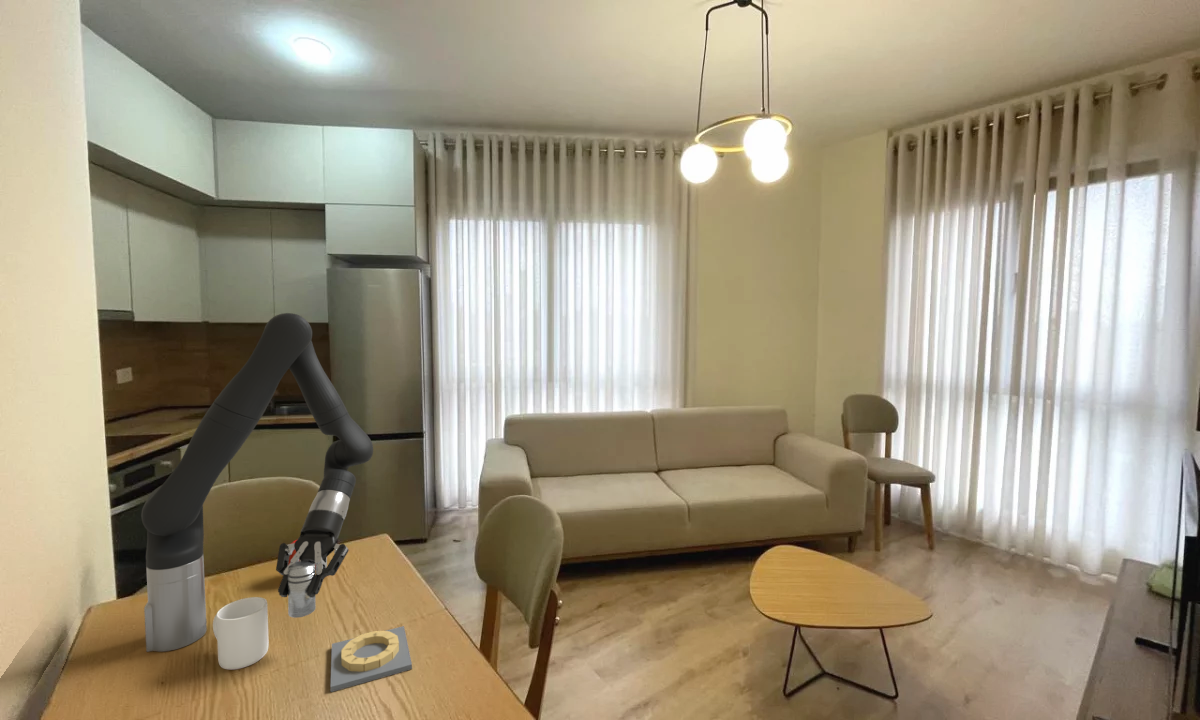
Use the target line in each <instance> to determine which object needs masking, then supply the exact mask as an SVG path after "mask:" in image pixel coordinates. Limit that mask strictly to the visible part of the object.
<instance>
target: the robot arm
mask: <svg viewBox="0 0 1200 720" xmlns="http://www.w3.org/2000/svg"><path fill="white" fill-rule="evenodd" d="M264 326H265V327H264V329H263V331H262V334H261V336H260V338H259V340H258V342H257V344H256V346H255V348H254V350H253V351H252V354H251V355H250V356H249V358H248V360H247V361H246V363H245V364H244V365H243V366H242V367H241V369H240V370H239V371H238V372H237V373H236V374H235V375H234V376H233V378H232V379H231V380H229V382H228V383H227V384H226V386H225V387H224V388H223V389H222V390H221V392H220V393H219V394H218V395H217V396H216V398H215V399H214V400H213V403H212V404H211V405H210V407H209V408H208V410H207V411H206V412H205V415H203V417H202V419H201V420H200V422H199V424H198V425H197V428H196V429H195V432H194V433H193V435H192V437H191V439H190V441H189V443H188V445H187V447H186V450H185V452H184V454H183V456H182V458H181V460H180V461H179V463H178V464H177V466H176V467H175V469H174V470H173V471H172V472H171V474H170V475H169V476H168V478H166V480H165V481H164V482H163V484H161V485H160V486H158V487H157V488H155V489H153V491H152V492H151V493H150V494H149V496H148V497H147V499H146V501H145V503H144V505H143V506H142V509H141V515H140V517H141V521H142V522H141V523H142V524H143V526H144V528H145V529H146V531H147V532H146V535H147V536H146V537H147V538H146V540H147V541H146V542H147V543H146V549H145V566H146V567H145V568H146V582H147V583H146V584H147V585H146V586H147V587H146V588H147V602H146V604H145V606H144V608H143V609H144V611H143V612H144V630H145V632H144V633H145V649H146V650H145V651H146V652H148V653H149V652H153V651H154V652H169V651H174V650H178V649H181V648H184V647H186V646H187V647H188V646H189V645H191V644H193V643H195V642H196V641H199V640H200V639H201V638H202V637H204V635H205V634H206V633H207V630H208V629H207V608H206V607H207V606H206V589H205V588H206V587H205V586H206V585H205V582H206V581H205V564H204V563H205V562H204V561H205V559H204V539H205V538H204V535H205V533H204V532H205V530H204V503H205V501H206V499H207V497H208V495H209V494H210V491H211V490H212V488H213V486H214V484H215V482H216V481H217V479H218V477H219V476H220V474H221V473H222V472H223V471H224V469H225V468H226V467H227V466H228V464H229V463H230V462H231V461H232V460H233V458H234V457H235V456H236V454H237V453H238V451H239V450H240V449H241V448H242V446H243V445H244V443H245V442H246V440H247V439H248V438H249V436H250V435H251V433H252V432H253V431H254V429H255V428H256V426H257V425H258V423H259V421H260V420H261V418H262V417H263V415H264V414H265V412H266V409H267V407H268V406H269V404H270V402H271V400H272V398H273V397H274V394H275V393H276V390H277V388H278V386H279V383H280V382H281V380H282V379H283V377H284V375H285V374H286V373H287V371H288V370H289V371H290V372H291V374H292V376H293V377H294V380H295V382H296V383H297V385H298V388H299V389H300V391H301V395H302V397H303V399H304V401H305V403H306V405H307V407H308V409H309V412H310V413H311V415H312V417H313V419H314V421H315V423H316V425H317V426H318V428H319V431H320V432H321V433H322V434H324V435H326V436H335V437H337V438H338V439H337V440H336V441H333V442H332V443H331V444H330V445H329V447H328V448H327V451H326V452H325V458H324V468H323V478H322V481H321V483H320V486H319V488H318V490H317V493H316V496H315V497H314V499H313V501H312V502H311V505H310V507H309V510H308V513H307V515H306V517H305V520H304V523H303V525H302V527H301V529H300V534H299V536H298V538H297V539H298V540H297V539H296V540H297V541H296V542H295V543H293V544H291V543H289V544H287V543H285V542H283V543H281V544H280V545H279V548H278V554H277V560H276V566H275V567H276V568H275V571H276V572H278V574H280V575H281V576H282V578H281V581H280V584H279V586H278V589H277V592H278V595H279V596H280V597H281V598H288V567H289V566H290V565H292V564H294V563H296V562H300V561H314V562H315V564H316V570H315V573H316V576H314V577H313V579H312V582H311V584H310V587H309V590H308V593H307V595H308V596H309V597H315V598H316V596H317V595H319V593H320V592H321V591H320V590H321V588H322V585H323V582H324V580H325V578H326V577H329V576H335V575H336V573H337V572H338V570H339V568H340V567H341V565H342V563H343V561H344V560H345V558H346V556H347V555H348V552H349V551H350V550H349V548H348V547H347V545H345V544H344V543H341V544H339V543H338V541H337V540H338V538H339V537H340V533H341V530H342V526H343V524H344V522H345V520H346V517H347V513H348V510H349V504H350V501H351V497H352V496H353V493H354V489H355V486H356V481H357V478H356V476H355V475H354V474H353V473H352V472H351V471H349V468H350V467H353V466H359V465H362V464H366V463H368V462H369V461H370V460H371V458H372V457H373V454H374V446H373V442H372V440H371V438H370V437H369V436H368V434H367V433H366V432H365V431H364V430H363V428H361V427H360V425H359V423H357V422H356V421H355V420H354V419H353V418H352V416H351V415H350V414H349V412H348V410H347V409H348V408H347V407H346V405H345V404H344V402H343V400H342V398H341V396H340V394H339V392H338V391H337V390H336V388H335V386H334V384H333V383H332V381H331V380H330V379H329V376H328V375H327V373H326V371H324V368H323V366H322V365H321V363H320V360H319V358H318V356H317V354H316V350H315V347H314V345H313V341H312V338H313V329H312V326H311V325H310V323H309V322H308V320H307V319H306V318H305V317H303V316H302V315H299V314H295V313H292V312H285V313H280V314H276V315H275V316H273V317H271V318H270V319H269V320H268V322H267V323H266V324H265V325H264ZM294 549H295V550H296V554H295V555H294V556H293V558H292V559H291V561H290V564H289V565H288V563H289V556H290V555H291V554H292V552H293V550H294ZM332 553H334V554H333V556H332V558H331V560H330V561H329V563H328V556H330V554H332ZM299 559H300V561H299Z"/></svg>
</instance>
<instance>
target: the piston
mask: <svg viewBox="0 0 1200 720" xmlns="http://www.w3.org/2000/svg"><path fill="white" fill-rule="evenodd" d="M314 576H316V568H315V562H314V561H300V562H296V563H294V564H292V565H290V566H289V567H288V596H287V602H288V603H287V604H288V605H287V607H288V610H287V611H288V616H289V617H291V618H293V619H294V618H295V619H296V618H302V617H307V616H308V615H310V614H312V613H313V612H315V610H316V596H315V597H309V596H308V595H307V593H308V590H309V587H310V584H311V582H312V579H313V577H314Z"/></svg>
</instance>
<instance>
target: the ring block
mask: <svg viewBox="0 0 1200 720" xmlns="http://www.w3.org/2000/svg"><path fill="white" fill-rule="evenodd" d="M411 658H412V657H411V654H410V649H409V643H408V639H407V634H406V630H405V625H403V626H399V627H395V628H391V629H390V628H389V629H386V630H377V631H376V630H374V631H370V632H366V633H365V632H364V633H362V634H359V635H358V636H356V637H354V638H350V639H346V640H342V641H338V642H333V643H331V658H330V659H331V661H330V665H331V666H330V693H333V692H336V691H339V690H343V689H347V688H351V687H353V686H358V685H362V684H365V683H368V682H369V683H370V682H372V681H375V680H380V679H382V678H383V679H384V678H386V677H389V676H393V675H396V674H400V673H403V672H407V671H411V670H412V669H413V664H412V659H411ZM410 669H411V670H410Z"/></svg>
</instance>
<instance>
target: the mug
mask: <svg viewBox="0 0 1200 720" xmlns="http://www.w3.org/2000/svg"><path fill="white" fill-rule="evenodd" d="M268 613H269V612H268V600H267V599H266V598H264V597H261V596H251V597H244V598H241V599H237V600H235V601H231V602H230V603H227V604H225V605H224V606H223V607H221V608H219V610H218V611H217V613H216V614H215V615H214V617H213V621H212V630H213V634H214V637H215V638H216V640H217V641H216V642H217V659H218V664H219V666H220V667H221V668H222V669H224V670H232V671H233V670H239V669H243V668H246V667H249V666H251V665H254V664H256V663H257V662H259V661H260V660H261V659H262V658H263V657H264V656H266V655H267V653H268V650H269V618H268V617H269V616H268V615H269V614H268Z"/></svg>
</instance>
